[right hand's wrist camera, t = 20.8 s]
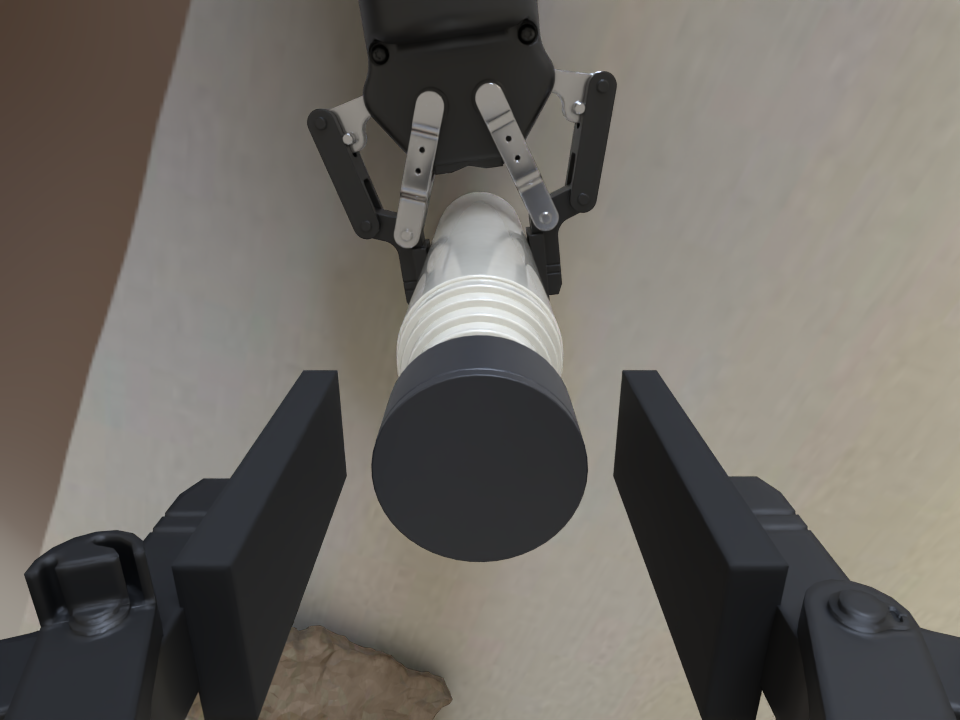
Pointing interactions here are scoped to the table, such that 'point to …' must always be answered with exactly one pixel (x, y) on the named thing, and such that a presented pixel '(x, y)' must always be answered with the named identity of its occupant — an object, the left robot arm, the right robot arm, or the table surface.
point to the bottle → (479, 284)
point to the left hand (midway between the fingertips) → (486, 308)
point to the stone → (344, 683)
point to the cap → (479, 451)
